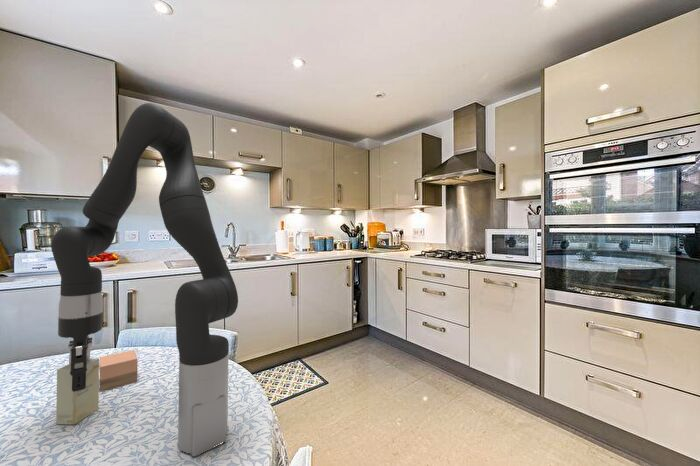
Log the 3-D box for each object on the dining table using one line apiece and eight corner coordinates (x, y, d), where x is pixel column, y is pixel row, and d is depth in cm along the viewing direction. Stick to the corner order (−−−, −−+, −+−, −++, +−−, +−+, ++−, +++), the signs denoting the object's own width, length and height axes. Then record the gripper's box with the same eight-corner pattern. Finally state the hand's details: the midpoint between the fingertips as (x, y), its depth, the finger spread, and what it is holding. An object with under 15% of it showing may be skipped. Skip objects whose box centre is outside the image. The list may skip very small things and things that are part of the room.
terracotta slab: (137, 370, 82) (137, 358, 82) (100, 380, 76) (100, 367, 76) (134, 361, 88) (134, 349, 88) (99, 369, 82) (99, 357, 82)
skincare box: (74, 425, 63) (75, 370, 63) (54, 425, 63) (55, 370, 63) (99, 408, 69) (100, 357, 69) (81, 407, 70) (82, 357, 69)
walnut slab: (137, 383, 82) (137, 370, 82) (99, 393, 76) (100, 380, 76) (134, 372, 88) (134, 361, 88) (99, 381, 82) (99, 369, 82)
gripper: (102, 317, 64) (101, 389, 64) (102, 303, 74) (101, 365, 75) (54, 323, 59) (52, 402, 59) (61, 308, 70) (60, 374, 70)
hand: (80, 381), depth 67 cm, fingers open, 8 cm apart
